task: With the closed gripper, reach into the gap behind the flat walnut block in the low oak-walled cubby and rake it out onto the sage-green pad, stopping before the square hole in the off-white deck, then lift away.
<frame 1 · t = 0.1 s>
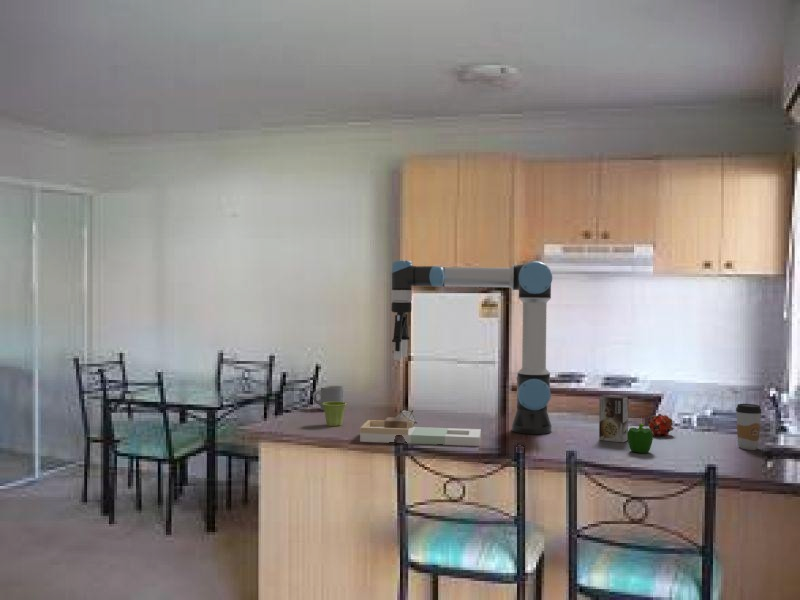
hand: (400, 358, 300), 28 cm above the worktop, fingers open, 13 cm apart
plant pot: (334, 425, 316), on the worktop
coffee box: (613, 440, 291), on the worktop
walnut block: (396, 430, 289), point 3 cm above the worktop, touching deck
coffee mug: (328, 409, 356), on the worktop
deck: (421, 439, 288), on the worktop
bell pepper: (639, 452, 270), on the worktop
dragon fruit: (660, 436, 302), on the worktop
game die: (405, 430, 306), on the worktop
coffee cup: (747, 448, 279), on the worktop
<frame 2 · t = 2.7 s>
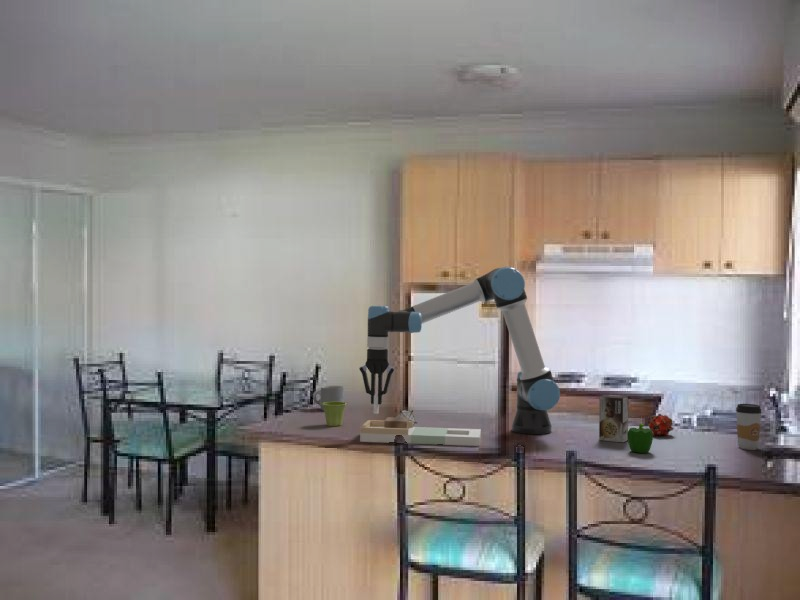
hand: (376, 413, 290), 9 cm above the worktop, fingers closed
nothing on the worktop moved.
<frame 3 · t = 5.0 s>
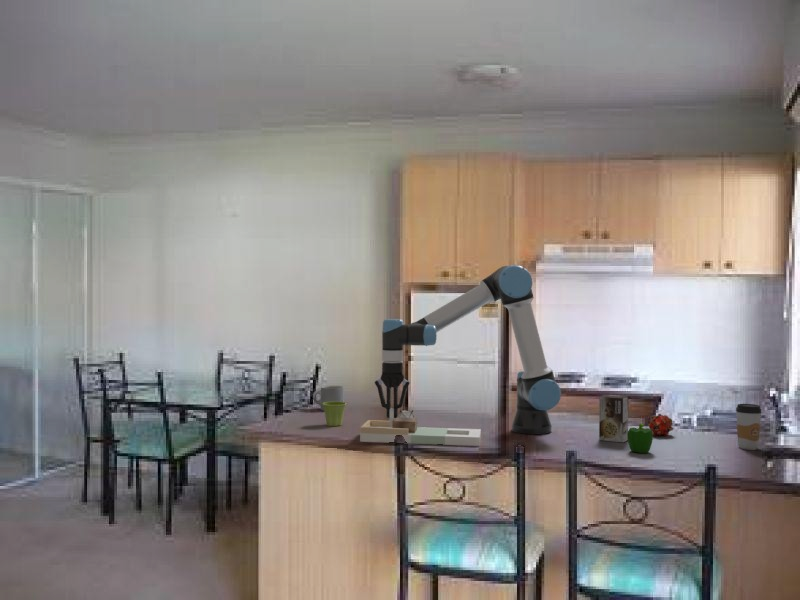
hand: (392, 426, 289), 4 cm above the worktop, fingers closed
walnut block: (404, 430, 289), point 3 cm above the worktop, touching deck
everything else where it was.
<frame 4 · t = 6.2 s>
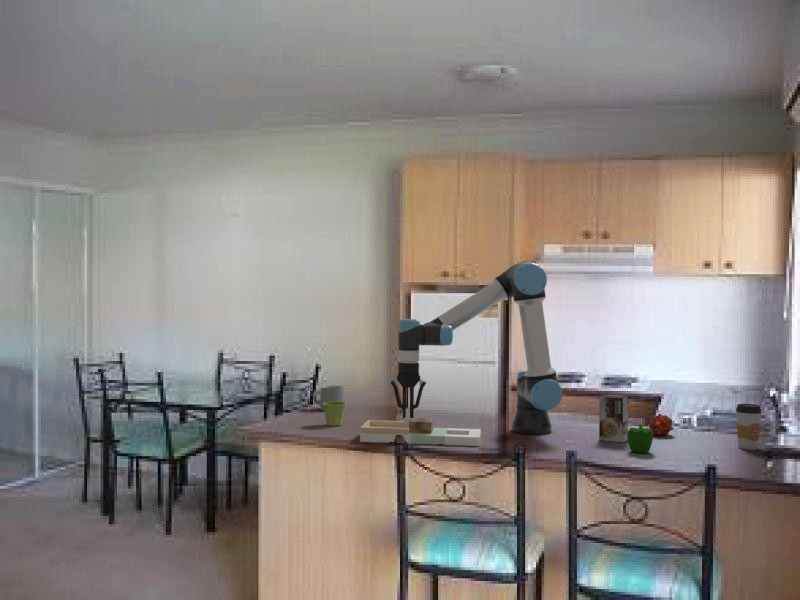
hand: (408, 427, 289), 4 cm above the worktop, fingers closed
walnut block: (421, 431, 288), point 3 cm above the worktop, touching deck
everything else where it was.
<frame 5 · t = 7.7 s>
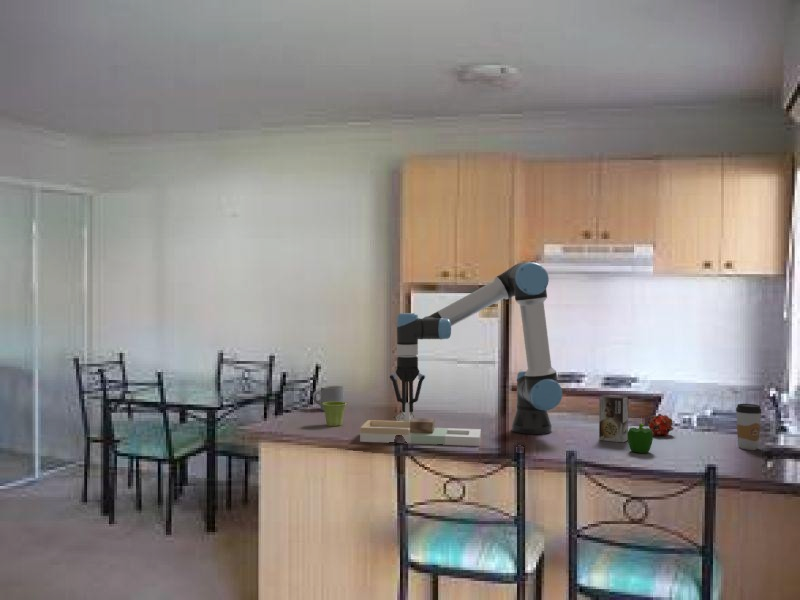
hand: (407, 421, 289), 6 cm above the worktop, fingers closed
nothing on the worktop moved.
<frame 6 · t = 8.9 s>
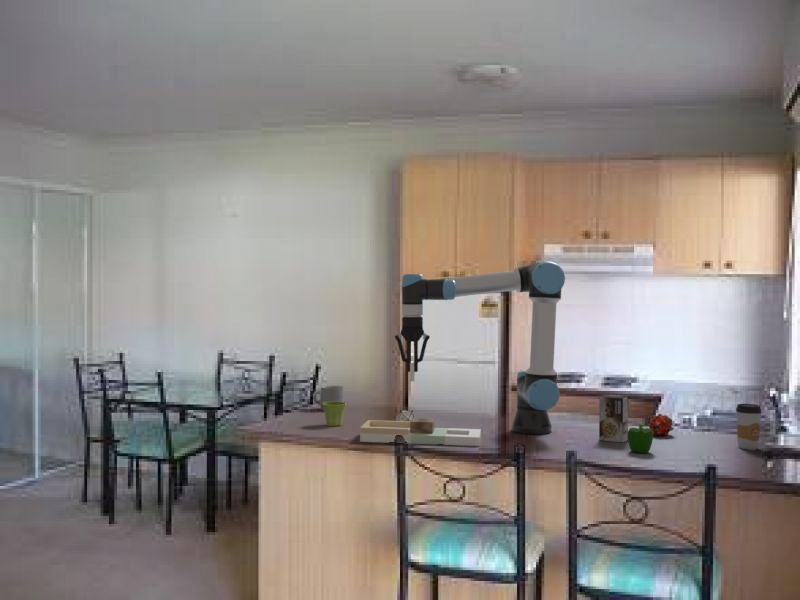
hand: (412, 380, 291), 21 cm above the worktop, fingers closed
nothing on the worktop moved.
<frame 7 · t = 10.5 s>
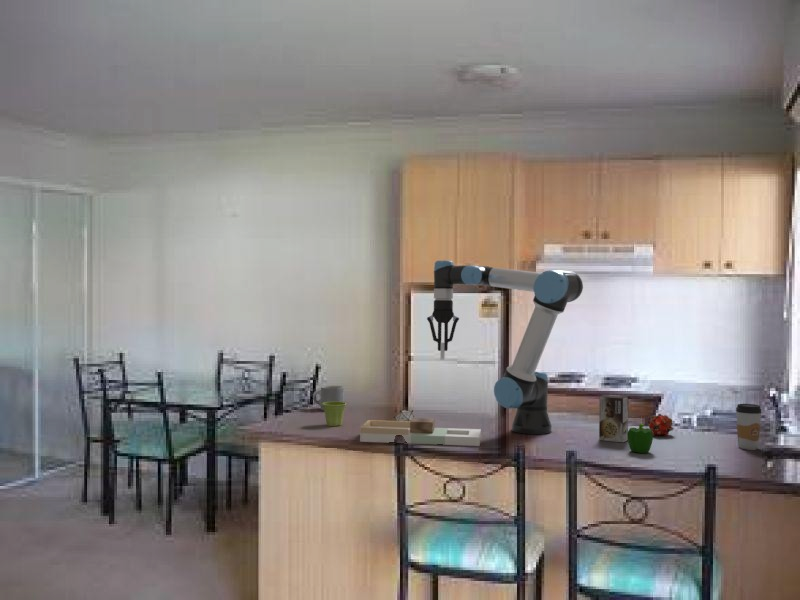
hand: (442, 359, 317), 26 cm above the worktop, fingers closed
nothing on the worktop moved.
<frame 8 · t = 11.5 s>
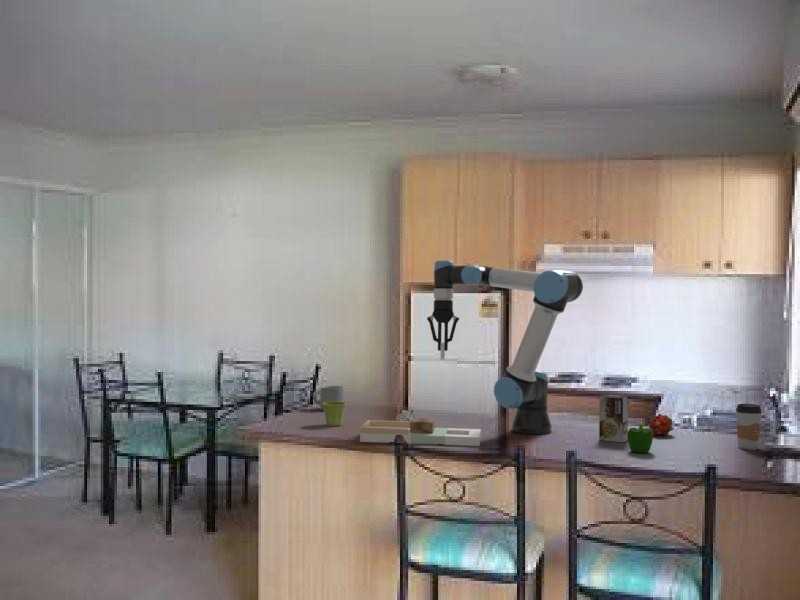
hand: (442, 359, 317), 26 cm above the worktop, fingers closed
nothing on the worktop moved.
at the end: walnut block inside the target area (1.8 cm from its centre), point 3.0 cm above the worktop; walnut block tilted 0°; walnut block moved 9.2 cm from its start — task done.
